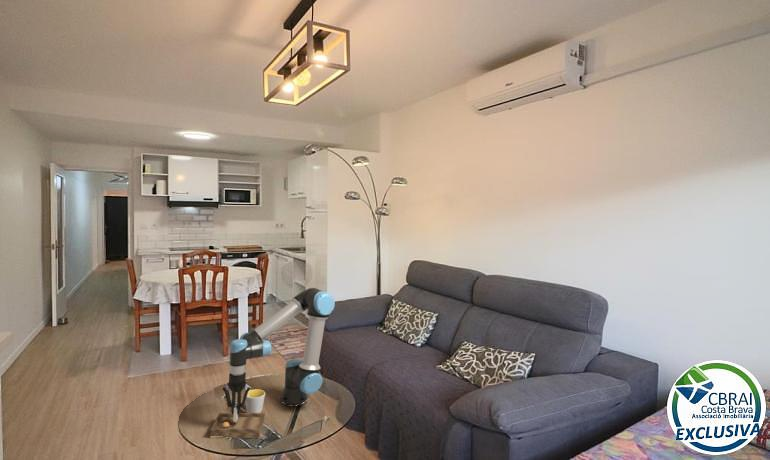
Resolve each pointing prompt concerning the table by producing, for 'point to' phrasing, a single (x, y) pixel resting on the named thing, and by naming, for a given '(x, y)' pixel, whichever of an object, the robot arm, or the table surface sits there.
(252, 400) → the mug
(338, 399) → the table surface
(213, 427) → the board
